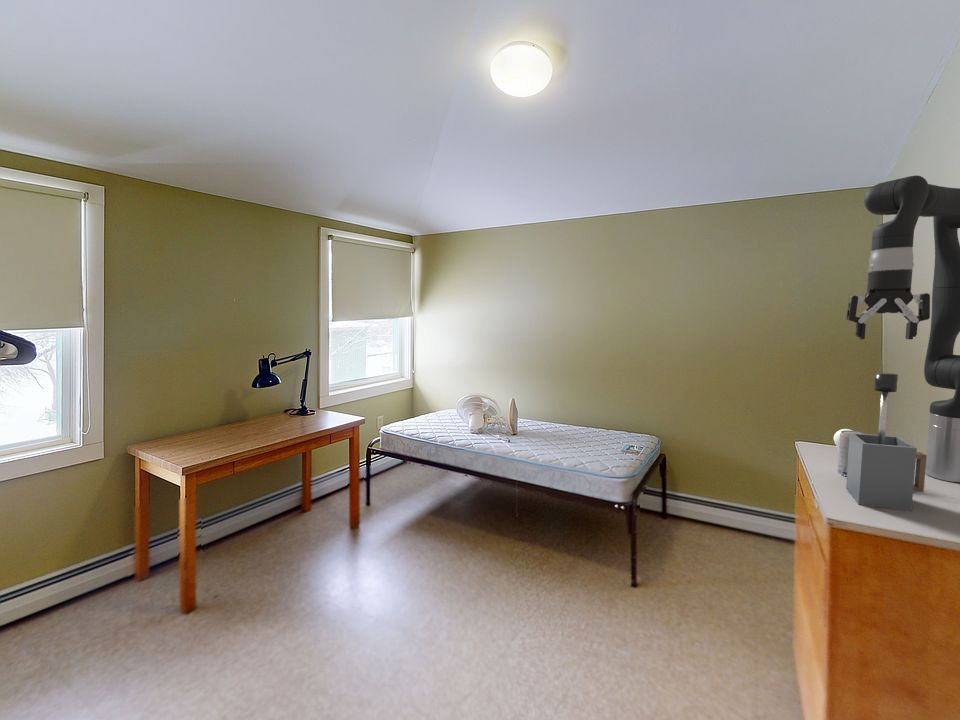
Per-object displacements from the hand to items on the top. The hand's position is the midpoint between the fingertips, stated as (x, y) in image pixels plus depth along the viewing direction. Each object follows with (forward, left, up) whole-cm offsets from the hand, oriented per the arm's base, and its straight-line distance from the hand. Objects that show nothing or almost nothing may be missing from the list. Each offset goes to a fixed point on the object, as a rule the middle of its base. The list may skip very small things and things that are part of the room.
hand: (884, 339), depth 104 cm
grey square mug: (-2, 0, -39) cm, 39 cm away
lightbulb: (-1, -25, -40) cm, 47 cm away
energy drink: (0, -17, -40) cm, 43 cm away
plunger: (-1, 0, -29) cm, 29 cm away
